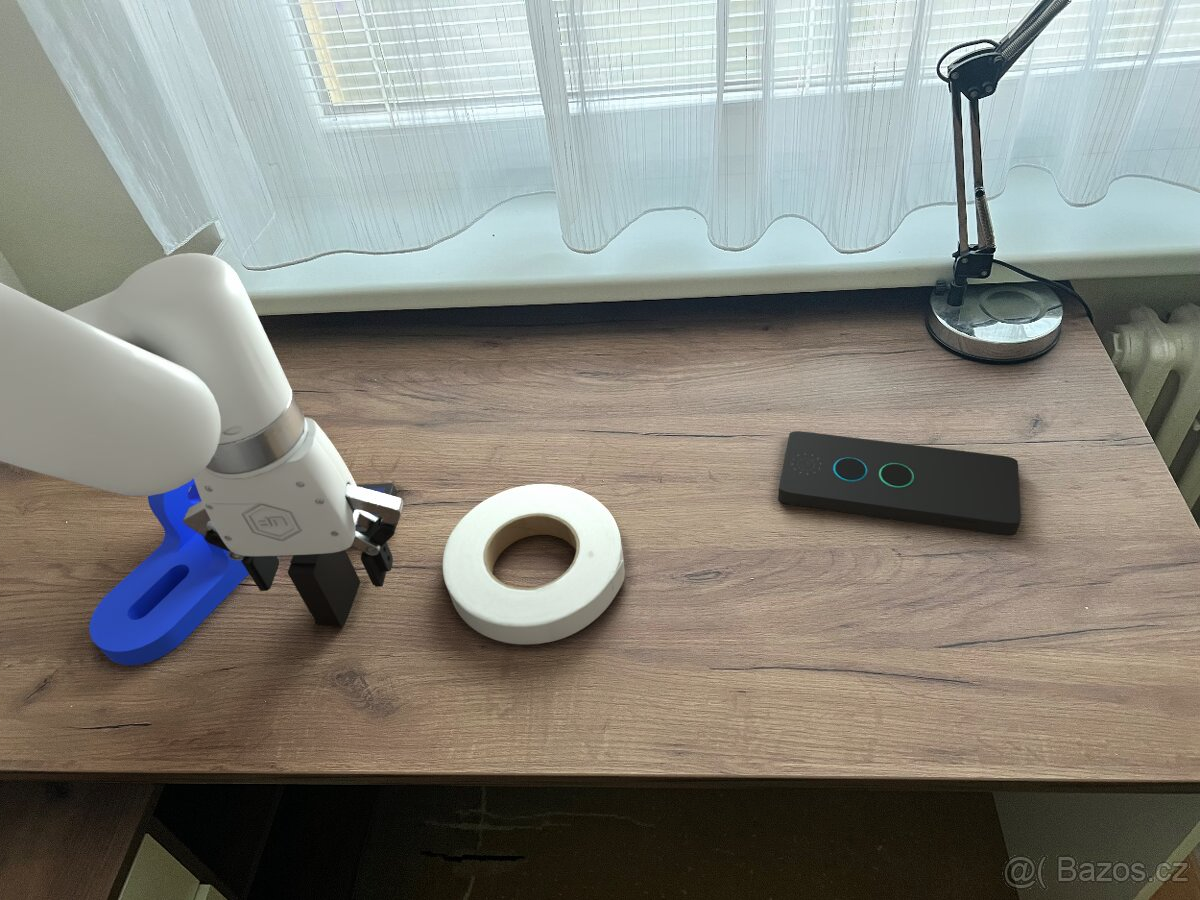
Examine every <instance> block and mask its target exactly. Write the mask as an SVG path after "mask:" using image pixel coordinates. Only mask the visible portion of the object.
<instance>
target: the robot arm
mask: <svg viewBox="0 0 1200 900" xmlns="http://www.w3.org/2000/svg"><path fill="white" fill-rule="evenodd" d="M0 462H2V463H5V464H7V465H8V464H9V465H12V466H15V467H18V468H21V469H25V470H27V471H32V472H35V473H38V474H41V475H46V476H49V477H53V478H57V479H60V480H65V481H68V482H72V483H76V484H78V485H83V486H87V487H89V488H90V487H91V488H94V489H97V490H101V491H105V492H110V493H114V494H119V495H123V496H130V497H148V496H151V495H157V494H162V493H166V492H169V491H171V490H174V489H177V488H179V487H181V486H183V485H184V484H186V483H188V482H190V481H191V480H192V479H193V478H194V481H195V484H196V487H197V490H198V493H199V496H200V498H201V500H202V501H201V502H199V503H197V504H195V505H193V506H191V507H190V508H189V509H188V511H187V513H186V515H185V517H184V519H183V523H184V524H185V525H187V526H188V527H190V528H191V529H193V530H194V531H196V532H197V533H199V534H200V535H201V534H203V535H204V536H205V540H206V541H207V542H208V543H210V544H212V545H215V546H217V547H219V548H222V549H224V550H226V551H229V553H228V556H229V557H230V558H231V559H232V560H235V561H241V562H242V563H243V565H244V566H245V568H246V570H247V571H248V573H249V574H248V575H249V576H250V577H251V579H252V580H253V582H254V583H255V585H256V586H257V588H258V590H259V591H260V592H267V591H269V590H270V589H271V588H272V585H273V583H274V580H275V577H276V574H277V572H278V569H279V566H280V560H279V558H278V557H279V556H281V557H282V556H293V555H307V554H325V553H335V552H340V551H343V550H348V549H350V548H351V547H353V548H355V549H357V550H359V551H361V553H360V554H361V555H360V561H361V563H362V565H363V567H364V570H365V572H366V573H367V576H368V578H369V580H370V582H371V584H372V586H374V587H376V588H381V587H383V586H384V583H385V579H386V576H387V572H391V571H392V568H393V564H394V558H393V557H394V556H393V554H392V552H391V549H390V546H389V544H388V541H389V540H390V539H392V538H393V536H394V535H395V533H396V529H397V526H398V523H399V521H400V519H401V516H402V512H403V507H404V503H405V501H404V499H402V498H401V497H399V496H396V497H395V496H391V495H387V494H384V493H380V492H376V491H373V490H369V489H365V488H362V487H358V486H357V485H358V484H357V483H356V481H355V480H354V477H353V475H352V474H351V471H350V469H349V468H348V466H347V465H346V463H345V461H344V460H343V457H342V456H341V455H340V453H339V451H338V450H337V448H336V447H335V445H334V444H333V443H332V441H331V439H329V437H328V435H327V434H326V433H325V432H324V430H323V429H322V428H321V427H320V426H319V425H318V423H317V422H316V421H315V420H314V419H313V418H310V417H305V415H304V413H303V410H302V408H301V406H300V404H299V403H298V399H297V397H296V396H295V394H294V391H293V390H292V387H291V384H290V383H289V380H288V378H287V376H286V374H285V372H284V370H283V368H282V365H281V363H280V361H279V359H278V357H277V354H276V353H275V351H274V347H273V346H272V344H271V342H270V340H269V338H268V335H267V333H266V332H265V329H264V327H263V324H262V323H261V321H260V318H259V316H258V314H257V312H256V310H255V307H254V306H253V303H252V301H251V298H250V297H249V295H248V292H247V290H246V289H245V286H244V284H243V282H242V281H241V279H240V277H239V275H238V273H237V272H236V270H235V269H234V268H233V267H232V266H231V265H230V264H229V263H228V262H226V261H224V260H223V259H221V258H219V257H217V256H215V255H212V254H207V253H206V254H205V253H200V252H186V253H179V254H175V255H173V254H172V255H169V256H165V257H163V258H160V259H157V260H155V261H152V262H150V263H148V264H145V265H144V266H142V267H140V268H138V269H137V270H136V271H134V272H133V273H132V274H130V275H129V276H128V277H127V278H126V279H124V281H123V282H122V284H120V286H119V287H118V288H116V289H115V290H113V291H110V292H108V293H106V294H104V295H101V296H99V297H97V298H94V299H92V300H89V301H87V302H84V303H82V304H79V305H77V306H75V307H72V308H69V309H66V310H64V311H61V310H59V309H57V308H54V307H52V306H50V305H48V304H45V303H43V302H42V301H39V300H38V299H35V298H33V297H31V296H29V295H27V294H25V293H22V292H21V291H19V290H16V289H14V288H13V287H11V286H9V285H6V284H4V283H2V282H0ZM370 513H372V514H376V515H379V516H380V517H379V518H377V517H375V516H374V515H372V514H370ZM357 524H359V525H361V526H363V527H364V528H366V529H367V530H366V534H365V536H364V535H363V534H361V533H359V532H357V531H356V530H355V529H356V525H357Z"/></svg>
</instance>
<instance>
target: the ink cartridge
mask: <svg viewBox="0 0 1200 900" xmlns="http://www.w3.org/2000/svg"><path fill="white" fill-rule="evenodd" d="M286 573H287V574H288V577H289V578H290V580H291V582H292V583H293V585H294V587H295V588H296V591H297V592H298V594H299V596H300V597H301V600H302V601H303V602H304V604H305V606H306V608H307V610H308V611H309V613H310V615H311V617H312V619H313V620H314V624H315V626H318V627H319V626H321V627H341V628H343V627H344V626H345V625H346V623H347V620H348V618H349V615H350V612H351V609H352V607H353V604H354V601H355V599H356V596H357V592H358V590H359V587H360V584H361V580H360V577H359V576H358V573H357V571H356V569H355V568H354V565H353V562H352V561H351V558H350V557H349V554H348V551H347V549H345V550H343V551H340V552H335V553H325V554H307V555H292V557H291V560H290V565H289V567H288V570H287V572H286Z"/></svg>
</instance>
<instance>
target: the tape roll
mask: <svg viewBox="0 0 1200 900" xmlns="http://www.w3.org/2000/svg"><path fill="white" fill-rule="evenodd" d="M531 536H532V537H533V536H553V537H557V538H559V539H561V540H563V541H565V542H567V543H568V544H569V545H571V547H572V548H573V549H574V550H575V555H574V558H573V560H572V562H571V564H570V566H569V567H568V568H567V569H566V570H565V571H564V572H563V573H562V574H561V575H560V576H558V577H557V578H555V579H554V580H553V581H550V582H548V583H544V584H543V585H538V586H533V587H518V586H517V587H516V586H512V585H509V584H506V583H504V582H502V581H501V580H499V579H498V578H497V577H496V576H495V575H494V574H493V573H494V567H495V564H496V562H497V560H498V558H499V556H500V555H501V554H502V553H503V552H504V551H505V549H507V548H508V547H510V546H511V545H512V544H514V543H515V542H517V541H520V540H521V539H525V538H528V537H531ZM621 537H622V536H621V533H620V530H619V527H618V524H617V522H616V520H615V518H614V516H613V515H612V513H611V512H610V510H609V509H608V508H606V506H605V505H604V504H602V503H601V502H600V501H599V500H597V499H596V498H595V497H594V496H592V495H590V494H588V493H586V492H584V491H581V490H579V489H576V488H574V487H570V486H566V485H561V484H552V483H551V484H550V483H535V484H534V483H533V484H527V485H521V486H517V487H512V488H510V489H506V490H504V491H501V492H499V493H497V494H494V495H491V496H490V497H488V498H486V499H485V500H483V501H481V502H480V503H479V504H476V506H474V507H473V508H472V509H470V510H469V511H468V512H467V513H466V514H465V515H464V516H463V517H462V518H461V519H460V521H459V522H458V523H457V524H456V526H455V527H454V528H453V529H452V531H451V533H450V534H449V537H448V539H447V541H446V544H445V547H444V551H443V556H442V575H443V576H442V577H443V580H444V583H445V587H446V589H447V591H448V595H449V597H450V599H451V602H452V604H453V606H454V608H455V611H456V612H457V613H458V615H459V616H460V617H461V619H462V620H463V621H464V622H465V623H466V624H467V625H468V626H469V627H470V628H472V630H474V631H476V632H477V633H478V634H480V635H482V636H485V637H487V638H489V639H492V640H494V641H497V642H501V643H505V644H511V645H540V644H546V643H551V642H556V641H559V640H563V639H565V638H567V637H570V636H572V635H574V634H576V633H578V632H580V631H581V630H583V629H585V628H586V627H588V626H589V625H590V624H592V623H593V622H594V621H596V620H597V619H598V618H599V617H600V616H601V615H602V614H603V613H604V612H605V611H606V610H607V608H609V606H610V605H611V603H612V602H613V600H614V599H615V597H616V596H617V594H618V593H619V591H620V589H621V587H622V586H623V583H624V581H625V575H626V574H625V573H626V572H625V571H626V567H625V558H624V552H623V545H622V538H621Z"/></svg>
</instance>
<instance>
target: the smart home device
mask: <svg viewBox="0 0 1200 900" xmlns="http://www.w3.org/2000/svg"><path fill="white" fill-rule="evenodd" d="M777 500H778V501H780V502H781V503H783V504H787V505H793V506H799V507H805V508H812V509H819V510H820V509H821V510H827V511H834V512H839V513H840V512H841V513H848V514H854V515H861V516H868V517H869V516H870V517H875V518H881V519H882V518H883V519H888V520H889V519H890V520H896V521H903V522H909V523H918V524H924V525H932V526H937V527H945V528H953V529H959V530H967V531H973V532H978V533H979V532H981V533H987V534H993V535H1000V536H1001V535H1002V536H1014V535H1016V534H1017V532H1018V530H1019V528H1020V524H1021V521H1022V512H1021V511H1022V509H1021V493H1020V476H1019V461H1018V460H1017V459H1016V458H1014V457H1012V456H1011V457H1010V456H1008V455H1007V456H1006V455H1001V454H992V453H983V452H976V451H967V450H958V449H950V448H944V447H943V448H941V447H934V446H926V445H919V444H908V443H901V442H893V441H885V440H876V439H866V438H859V437H851V436H844V435H835V434H828V433H827V434H826V433H820V432H819V433H817V432H811V431H802V430H801V431H800V430H796V431H789V434H788V438H787V444H786V449H785V454H784V459H783V463H782V469H781V473H780V479H779V484H778V494H777Z"/></svg>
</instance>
